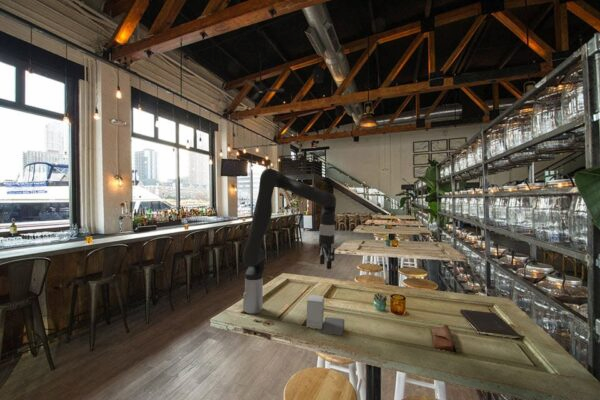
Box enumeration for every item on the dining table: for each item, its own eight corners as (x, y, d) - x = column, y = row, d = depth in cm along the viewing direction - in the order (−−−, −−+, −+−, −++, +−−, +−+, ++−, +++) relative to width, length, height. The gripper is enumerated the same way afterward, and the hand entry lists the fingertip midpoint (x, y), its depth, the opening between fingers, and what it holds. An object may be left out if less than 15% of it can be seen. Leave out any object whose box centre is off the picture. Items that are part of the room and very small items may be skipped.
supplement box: (322, 329, 118) (322, 302, 118) (306, 327, 119) (306, 300, 119) (323, 321, 125) (324, 295, 125) (308, 320, 126) (309, 294, 126)
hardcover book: (494, 317, 134) (494, 312, 134) (520, 341, 112) (520, 335, 112) (460, 313, 138) (460, 309, 138) (477, 335, 116) (477, 330, 116)
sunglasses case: (428, 327, 120) (436, 317, 119) (442, 338, 118) (451, 327, 117) (432, 349, 104) (442, 336, 102) (449, 361, 101) (460, 349, 100)
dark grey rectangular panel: (321, 333, 114) (321, 332, 114) (325, 317, 129) (325, 317, 129) (342, 335, 113) (342, 334, 113) (343, 319, 127) (343, 318, 127)
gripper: (314, 231, 133) (313, 262, 133) (325, 236, 119) (323, 271, 119) (328, 231, 135) (326, 262, 135) (340, 236, 121) (338, 270, 122)
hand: (325, 266), depth 127 cm, fingers open, 8 cm apart
